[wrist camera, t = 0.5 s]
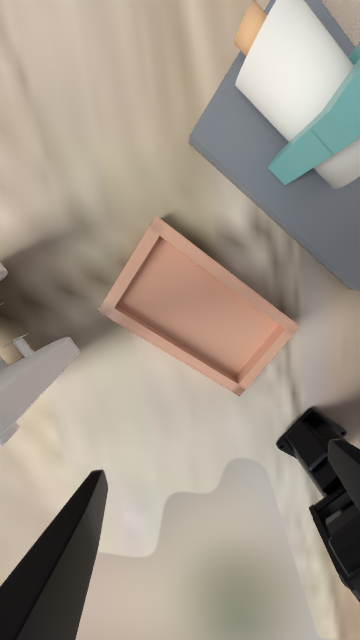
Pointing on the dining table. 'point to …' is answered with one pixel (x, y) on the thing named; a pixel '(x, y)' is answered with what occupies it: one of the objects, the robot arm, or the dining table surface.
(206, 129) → the board
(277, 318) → the tray
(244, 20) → the white bottle
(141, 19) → the dining table surface
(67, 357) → the cable organizer
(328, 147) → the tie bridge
